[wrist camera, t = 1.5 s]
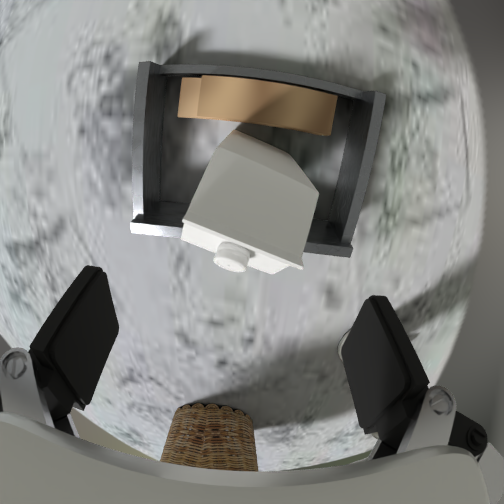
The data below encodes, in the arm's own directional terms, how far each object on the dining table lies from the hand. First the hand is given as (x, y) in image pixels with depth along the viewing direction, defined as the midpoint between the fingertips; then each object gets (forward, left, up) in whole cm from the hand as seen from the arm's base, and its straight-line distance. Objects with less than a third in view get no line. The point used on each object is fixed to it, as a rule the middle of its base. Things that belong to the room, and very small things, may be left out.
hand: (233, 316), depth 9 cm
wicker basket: (+2, +65, -25) cm, 69 cm away
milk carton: (0, 0, -25) cm, 25 cm away
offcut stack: (0, -7, -25) cm, 26 cm away
